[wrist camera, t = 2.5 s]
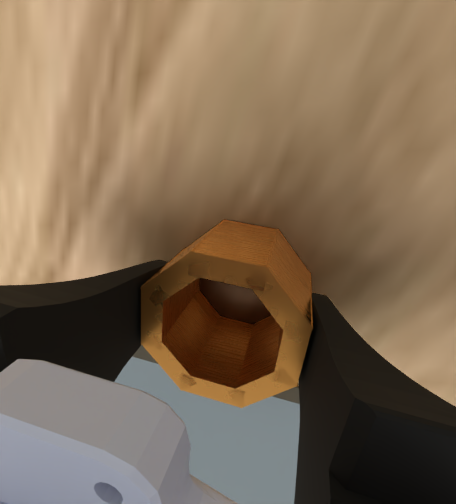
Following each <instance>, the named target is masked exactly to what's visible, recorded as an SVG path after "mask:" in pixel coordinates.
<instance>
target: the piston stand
mask: <svg viewBox="0 0 456 504" xmlns="http://www.w3.org/2000/svg"><path fill="white" fill-rule="evenodd" d="M114 382H115V383H118V384H122V385H125V386H128V387H132V388H135V389H138V390H141V391H145V392H147V393H148V394H150V395H152V396H154V397H156V398H158V399H160V400H162V401H164V402H166V403H167V404H168V405H169V406H170V407H171V408H172V409H173V410H174V412H175V413H176V414H177V415H178V416H179V417H180V418H181V420H182V421H183V422H184V424H185V425H186V429H187V433H188V437H189V441H190V445H191V450H190V460H189V474H191V475H192V476H194V477H195V478H197V479H199V480H200V481H202V482H204V483H205V484H207V485H208V486H210V487H212V488H213V489H215V490H217V491H218V492H220V493H222V494H223V495H225V496H226V497H228V498H230V499H231V500H233V501H235V502H236V503H238V504H294V498H295V485H296V472H297V458H298V443H299V426H300V402H299V387H294V388H291V389H289V390H286V391H284V392H281V393H278V394H276V395H273V396H271V397H268V398H266V399H263V400H261V401H258V402H256V403H253V404H250V405H248V406H245V407H243V408H240V407H236V406H233V405H230V404H226V403H223V402H220V401H216V400H213V399H210V398H206V397H203V396H199V395H196V394H193V393H189V392H186V391H183V390H182V391H181V390H180V388H179V387H178V386H177V385H176V384H175V383H174V381H173V380H172V379H171V378H170V377H169V376H168V374H167V373H166V372H165V371H164V370H163V369H162V367H161V366H160V365H159V364H158V363H157V362H156V361H155V359H154V358H153V357H152V356H151V355H150V354H149V352H148V351H147V350H146V349H145V348H144V347H143V345H141V346H140V347H139V349H138V350H137V351H136V352H135V354H134V355H133V356H132V357H131V359H130V360H129V361H128V362H127V364H126V365H125V366H124V368H123V369H122V371H121V372H120V374H119V375H118V377H117V378H116V380H115V381H114Z"/></svg>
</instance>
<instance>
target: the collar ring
mask: <svg viewBox="0 0 456 504" xmlns="http://www.w3.org/2000/svg"><path fill="white" fill-rule="evenodd" d="M279 230H280V229H274V228H268V227H263V226H257V225H252V224H246V223H241V222H235V221H229V220H225V219H223V220H222V221H221V222H220V223H219V224H218V225H216V226H215V227H213V228H212V229H211V230H209V231H208V232H207V233H205V234H204V235H203V236H201V237H200V238H199V239H197V240H196V241H194V242H193V243H192V244H190V245H189V246H188V247H185V248H184V249H183V250H182V251H181V252H180V253H179V254H177V255H176V256H175V257H174V258H173V259H172V260H171V261H169V262H168V263H167V264H166V265H165V266H164V267H163V268H161V269H160V270H159V271H158V272H157V273H156V274H155V275H153V276H152V277H151V278H150V279H149V280H148V281H147V282H146V283H144V284H143V285H142V286H141V342H140V343H141V345H143V347H144V348H145V349H146V350H147V351H148V352H149V354H150V355H151V356H152V357H153V358H154V359H155V361H156V362H157V363H158V364H159V365H160V366H161V367H162V369H163V370H164V371H165V372H166V373H167V374H168V376H169V377H170V378H171V379H172V380H173V381H174V383H175V384H176V385H177V386H178V387H179V388H180V390H181V391H182V390H183V391H186V392H189V393H193V394H196V395H199V396H203V397H206V398H210V399H213V400H216V401H220V402H223V403H226V404H230V405H233V406H236V407H240V408H243V407H245V406H248V405H250V404H253V403H256V402H258V401H261V400H263V399H266V398H268V397H271V396H273V395H276V394H278V393H281V392H284V391H286V390H289V389H291V388H294V387H297V386H298V380H299V376H300V373H301V369H302V365H303V361H304V358H305V354H306V350H307V347H308V343H309V339H310V335H311V332H312V329H313V310H312V286H311V272H309V271H308V269H307V268H306V266H305V265H304V264H303V262H302V261H301V260H300V258H299V257H298V255H297V254H296V253H295V251H294V250H293V248H292V247H291V246H290V244H289V243H288V242H287V240H286V239H285V237H284V236H283V235H282V233H281V232H280V231H279ZM200 278H204V279H209V280H214V281H218V282H223V283H227V284H232V285H236V286H241V287H245V288H250V289H252V290H253V291H254V293H255V294H256V295H257V297H258V298H259V299H260V300H261V302H262V303H263V304H264V306H265V307H266V308H267V310H268V311H269V312H270V313H271V315H270V316H269V317H267V318H265V319H263V320H261V321H259V322H257V323H255V324H250V323H246V322H242V321H238V320H234V319H230V318H226V317H221V316H220V315H219V314H218V313H217V312H216V310H215V309H214V308H213V307H212V305H211V304H210V303H209V302H208V300H207V299H206V298H205V297H204V295H203V294H202V293H201V292H200V290H199V284H200Z"/></svg>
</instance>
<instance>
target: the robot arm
mask: <svg viewBox="0 0 456 504" xmlns="http://www.w3.org/2000/svg"><path fill="white" fill-rule="evenodd" d="M167 263H168V262H166V261H162V260H155V261H151V262H147V263H143V264H139V265H136V266H132V267H129V268H125V269H122V270H118V271H114V272H110V273H106V274H102V275H98V276H94V277H89V278H84V279H78V280H72V281H65V282H56V283H46V284H35V285H8V286H0V504H238V503H236V502H235V501H233V500H231V499H230V498H228V497H226V496H225V495H223V494H222V493H220V492H218V491H217V490H215V489H213V488H212V487H210V486H208V485H207V484H205V483H204V482H202V481H200V480H199V479H197V478H195V477H194V476H192V475H191V474H189V460H190V450H191V445H190V441H189V437H188V433H187V429H186V425H185V424H184V422H183V421H182V420H181V418H180V417H179V416H178V415H177V414H176V413H175V412H174V410H173V409H172V408H171V407H170V406H169V405H168V404H167V403H166V402H164V401H162V400H160V399H158V398H156V397H154V396H152V395H150V394H148V393H147V392H145V391H141V390H138V389H135V388H132V387H128V386H125V385H122V384H118V383H115V382H114V381H115V380H116V378H117V377H118V375H119V374H120V372H121V371H122V369H123V368H124V366H125V365H126V364H127V362H128V361H129V360H130V359H131V357H132V356H133V355H134V354H135V352H136V351H137V350H138V349H139V347H140V346H141V343H140V342H141V286H142V285H143V284H144V283H146V282H147V281H148V280H149V279H150V278H151V277H152V276H153V275H155V274H156V273H157V272H158V271H159V270H160V269H161V268H163V267H164V266H165V265H166V264H167ZM312 310H313V329H312V332H311V335H310V339H309V343H308V347H307V350H306V354H305V358H304V361H303V365H302V369H301V373H300V376H299V402H300V426H299V443H298V458H297V472H296V485H295V498H294V504H456V407H455V406H453V405H451V404H450V403H448V402H446V401H445V400H443V399H441V398H440V397H438V396H437V395H435V394H433V393H432V392H430V391H429V390H427V389H425V388H424V387H422V386H421V385H419V384H418V383H416V382H415V381H413V380H412V379H410V378H409V377H408V376H406V375H405V374H404V373H402V372H401V371H400V370H398V369H397V368H396V367H394V366H393V365H392V364H390V363H389V362H388V361H387V360H385V359H384V358H383V357H382V356H381V355H380V354H378V353H377V352H376V351H375V350H374V349H373V348H372V347H371V346H370V345H368V344H367V343H366V342H365V341H364V340H363V339H362V338H361V336H360V335H359V334H358V333H357V332H356V331H355V330H354V329H353V328H352V327H351V326H350V325H349V323H348V322H347V321H346V320H345V319H344V317H343V316H342V315H341V314H340V312H339V311H338V310H337V309H336V307H335V306H334V305H333V303H332V302H331V301H330V299H329V298H328V297H327V296H325V295H320V294H316V293H312Z"/></svg>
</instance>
